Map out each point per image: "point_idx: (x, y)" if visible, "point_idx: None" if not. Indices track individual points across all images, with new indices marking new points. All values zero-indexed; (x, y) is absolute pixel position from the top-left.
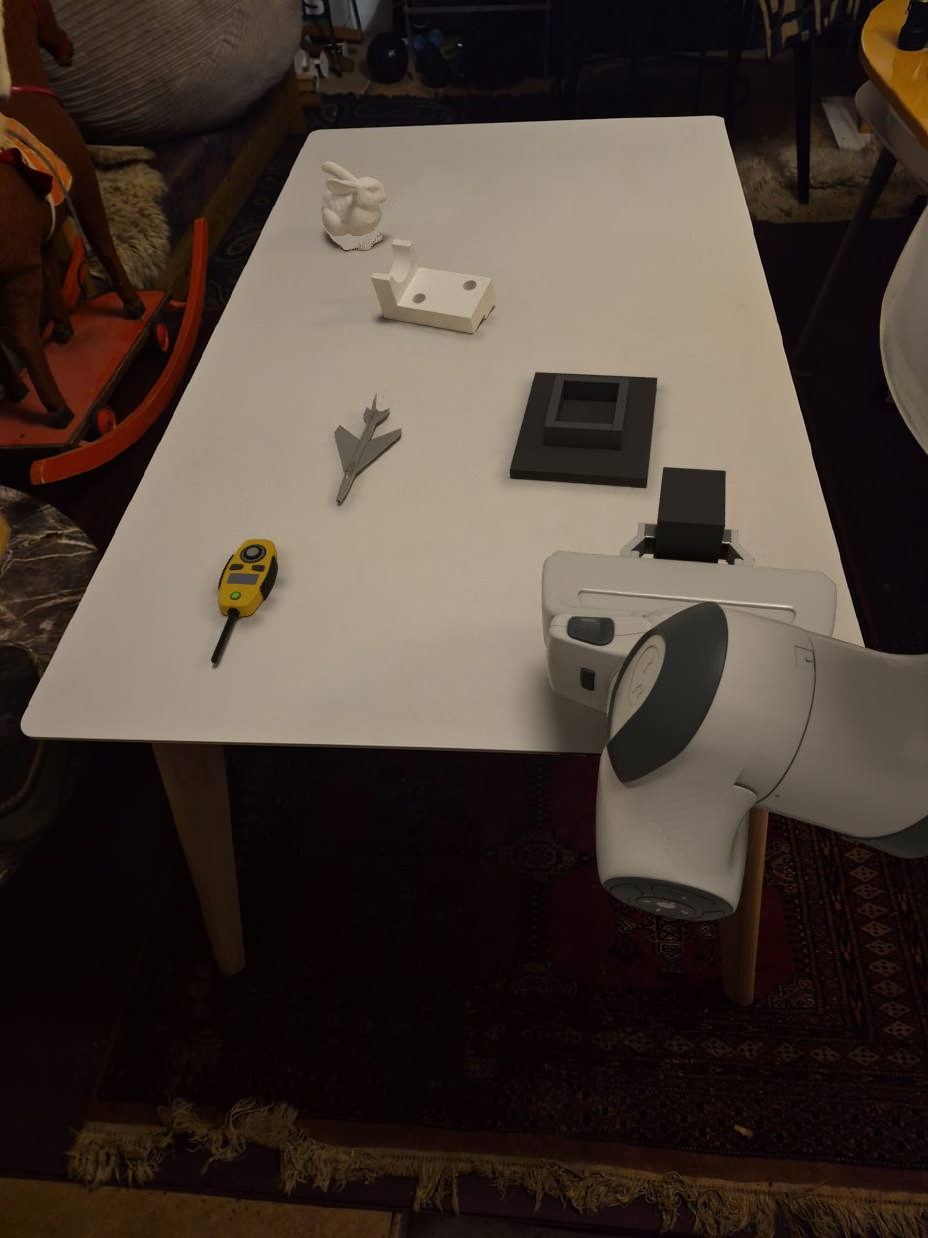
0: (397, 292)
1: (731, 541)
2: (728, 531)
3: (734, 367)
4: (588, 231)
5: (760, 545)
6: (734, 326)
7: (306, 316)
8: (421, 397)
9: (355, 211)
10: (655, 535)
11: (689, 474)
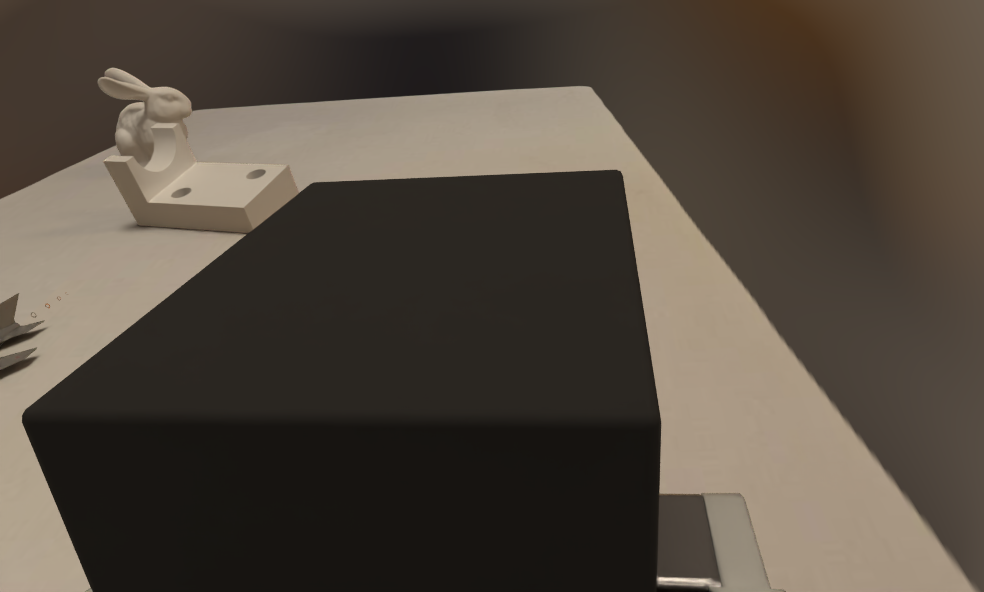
0: (147, 184)
1: (721, 573)
2: (688, 506)
3: (641, 247)
4: (447, 149)
5: (767, 554)
6: (634, 209)
7: (29, 229)
8: (117, 306)
9: (147, 124)
10: None
11: (427, 190)
